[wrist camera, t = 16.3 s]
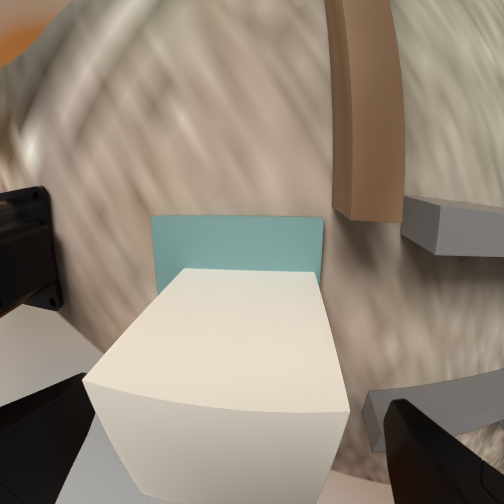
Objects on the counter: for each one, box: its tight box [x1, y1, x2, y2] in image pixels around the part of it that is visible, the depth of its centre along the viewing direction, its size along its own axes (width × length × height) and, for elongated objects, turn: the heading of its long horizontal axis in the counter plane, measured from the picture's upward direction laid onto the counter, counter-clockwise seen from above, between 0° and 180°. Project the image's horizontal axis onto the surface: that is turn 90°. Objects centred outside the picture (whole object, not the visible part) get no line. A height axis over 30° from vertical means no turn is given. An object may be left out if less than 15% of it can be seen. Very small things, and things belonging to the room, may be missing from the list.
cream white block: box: [82, 268, 350, 504], centre depth 8 cm, size 5×5×7 cm
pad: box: [151, 215, 324, 295], centre depth 12 cm, size 6×9×1 cm
